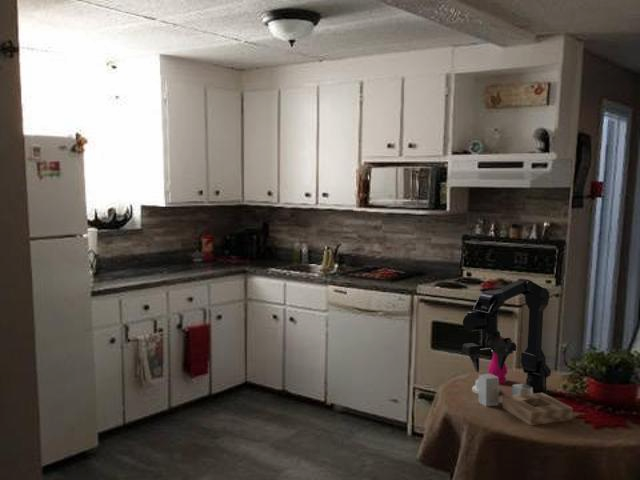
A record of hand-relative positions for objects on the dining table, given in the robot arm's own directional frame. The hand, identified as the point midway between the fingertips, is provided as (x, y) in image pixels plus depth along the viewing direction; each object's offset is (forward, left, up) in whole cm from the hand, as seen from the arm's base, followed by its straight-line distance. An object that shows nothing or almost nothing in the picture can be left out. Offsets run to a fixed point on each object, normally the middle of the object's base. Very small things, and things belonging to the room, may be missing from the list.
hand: (488, 370), depth 215 cm
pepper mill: (-17, -21, -12) cm, 30 cm away
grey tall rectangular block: (0, 0, -12) cm, 12 cm away
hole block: (-10, +14, -12) cm, 21 cm away
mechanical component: (-6, -12, -12) cm, 18 cm away
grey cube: (-14, 0, -12) cm, 18 cm away
